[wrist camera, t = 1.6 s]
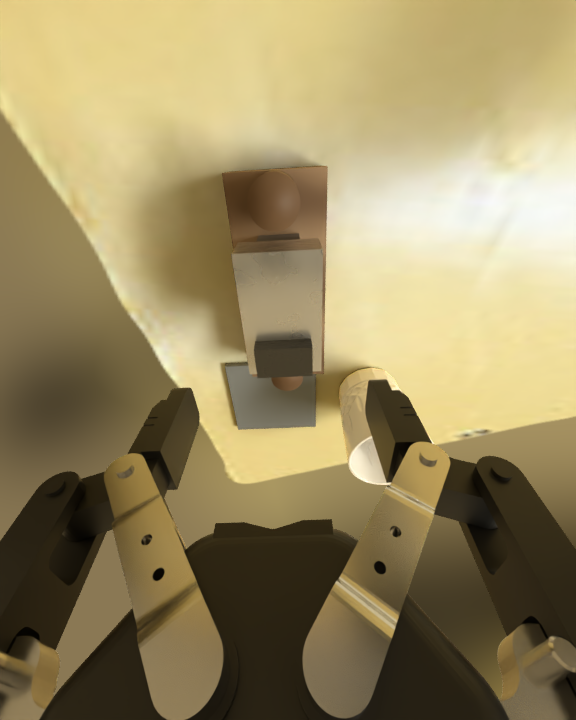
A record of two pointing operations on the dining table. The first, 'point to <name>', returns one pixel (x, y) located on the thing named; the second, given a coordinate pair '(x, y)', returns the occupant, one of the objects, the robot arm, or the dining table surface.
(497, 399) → the dining table surface
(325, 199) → the plane body
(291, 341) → the lever cap
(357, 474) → the white cup
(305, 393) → the slate mat
